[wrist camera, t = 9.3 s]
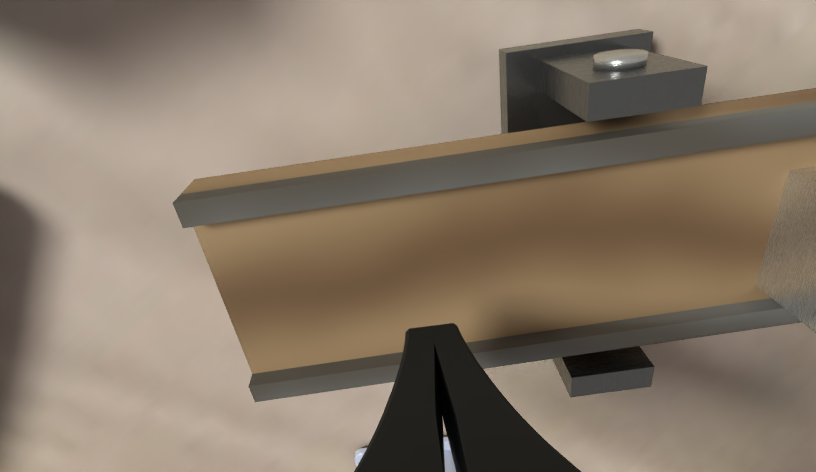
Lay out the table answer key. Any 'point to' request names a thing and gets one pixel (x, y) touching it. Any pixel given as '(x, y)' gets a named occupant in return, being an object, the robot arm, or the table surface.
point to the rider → (793, 249)
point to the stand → (584, 102)
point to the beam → (504, 242)
